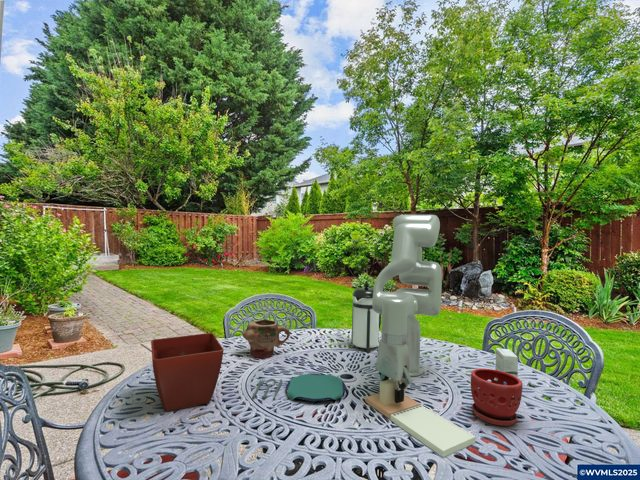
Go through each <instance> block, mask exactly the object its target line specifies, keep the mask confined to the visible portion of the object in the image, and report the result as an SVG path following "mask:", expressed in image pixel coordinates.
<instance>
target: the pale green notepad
mask: <svg viewBox="0 0 640 480" xmlns="http://www.w3.org/2000/svg"><path fill="white" fill-rule="evenodd" d="M389 420H390V421H391V422H392V423H394V424H395V425H397V426H398V427H400V428H401V429H402V430H404V431H405V432H406V433H408V434H409V435H411V436H412V437H414V438H415V439H416V440H418V441H419V442H421V444H423V445H425V446H427V447H428V448H430V449H431V450H432V451H434V452H435V453H436V454H438V455H440V457H442V458H445V457H447V456H450V455H451V454H454V453H455V452H456V453H457V452H458V451H461V450H462V449H465V448H467V447H469V446H471V445H473V444H475V443H476V440H477V439H476V438H477V437H476V436H475V435H473V434H472V433H470V432H469V431H467V430H466V429H464V428H462V427H461V426H459V425H456V424H455V423H453V422H452V421H450V420H448V419H446V418H445V417H443V416H442V415H439V414H437V413H436V412H434V411H433V410H431V409H428V408H427V406H426V407H425V406H424V405H422V404H420V405H419V406H416V407H413V408H410V409H407V410H403V411H400V412H397V413H394V414H391V415H390V419H389Z"/></svg>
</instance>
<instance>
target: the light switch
mask: <svg viewBox="0 0 640 480" xmlns="http://www.w3.org/2000/svg"><path fill="white" fill-rule="evenodd" d="M399 382H400V384H401V381H399ZM395 389H397V388H396V382H395V380H393V379H391V378H389V380H385V381H381V380H380V382H379V393H376V394H372V395H368V396H365V399H364V400H365V401H364V402H365V403H366V404H368V405H369V406H371V407H372V408H374V409H375V410H376V411H377V412H378V413H381V414H382V415H383V416H385V417H386V418H388V419H389V420H390V415H391V414H394V413H397V412H400V411H403V410H407V409H410V408H413V407H416V406H419V405H421V403H419V402H417V401H416V400H414V399H412V398H411V397H409V396H408V395H406V389H404V401H403V402H400V403H395Z"/></svg>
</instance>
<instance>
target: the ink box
mask: <svg viewBox="0 0 640 480" xmlns="http://www.w3.org/2000/svg"><path fill="white" fill-rule="evenodd" d="M518 361H519V358H518V356H517V355H516V354H515V353H514V352H513V351H512V350H511V349H508V348H499V347H498V348H497V347H496V348H495V370H498V371H502V372H505V373H508V374H511V375H513V376H515V377H517V378H518V377H519V375H518V374H519V373H518V370H519V369H518V368H519V367H518V366H519V363H518ZM518 379H519V378H518ZM494 380H495V381H498V379H497V378H494ZM504 384H505V385H507V383H506V382H504Z"/></svg>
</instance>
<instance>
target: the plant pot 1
mask: <svg viewBox="0 0 640 480" xmlns="http://www.w3.org/2000/svg"><path fill="white" fill-rule="evenodd" d="M150 346H151V348H150V349H151V360H152V361H151V363H152V370H153V377H154V380H155V381H154V382H155V387H156V391H157V394H158V397H159V400H160V404H161V406H162V410H163V412H165V413H167V412H173V411H176V410H177V411H178V410H182V409H186V408H190V407H191V408H192V407H195V406H201V405H204V404H205V405H206V404H209V403H211V400H212V399H213V395H214V392H215V390H216V386H217V383H218V380H219V376H220V372H221V367H222V364H223V363H222V362H223V356H224V350H225V349H224V347H222V345H221V343H220V341H219V340H218V338H217V337H216V336H215V333H213V332H207V333H199V334H198V333H196V334H189V335H182V336H173V337H166V338H165V337H162V338H156V339H152V340H150Z"/></svg>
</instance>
